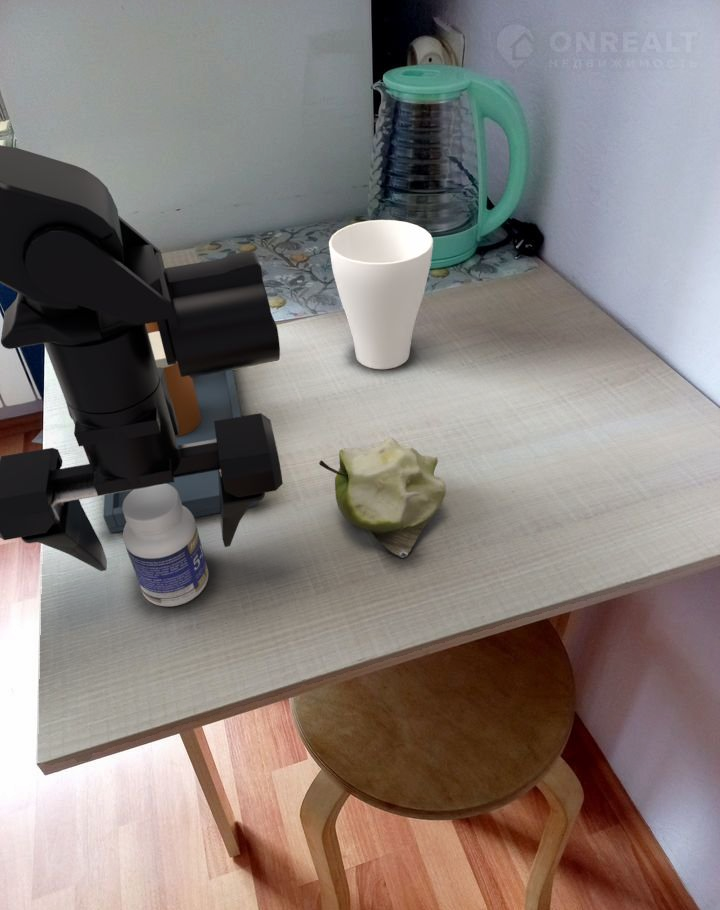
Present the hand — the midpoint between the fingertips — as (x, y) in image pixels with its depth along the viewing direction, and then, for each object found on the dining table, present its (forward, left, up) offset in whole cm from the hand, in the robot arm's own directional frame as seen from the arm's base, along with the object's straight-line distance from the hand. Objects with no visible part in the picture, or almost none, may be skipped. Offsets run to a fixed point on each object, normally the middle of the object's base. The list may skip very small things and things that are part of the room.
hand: (166, 554), depth 54 cm
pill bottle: (0, 0, -4) cm, 4 cm away
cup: (+24, +27, -4) cm, 36 cm away
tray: (+1, +20, -3) cm, 20 cm away
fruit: (+18, +3, -4) cm, 19 cm away
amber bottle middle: (+1, +20, -3) cm, 20 cm away
